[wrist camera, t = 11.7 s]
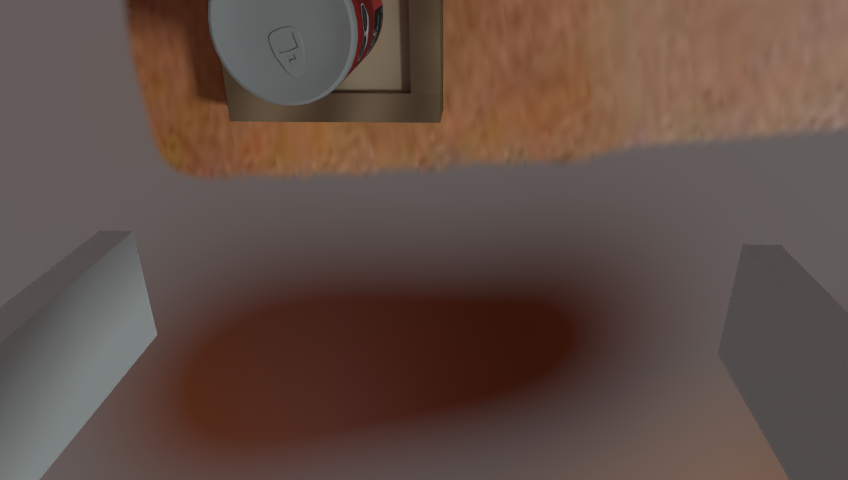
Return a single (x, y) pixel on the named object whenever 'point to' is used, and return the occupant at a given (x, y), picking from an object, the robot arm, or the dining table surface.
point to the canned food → (293, 44)
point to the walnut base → (372, 76)
